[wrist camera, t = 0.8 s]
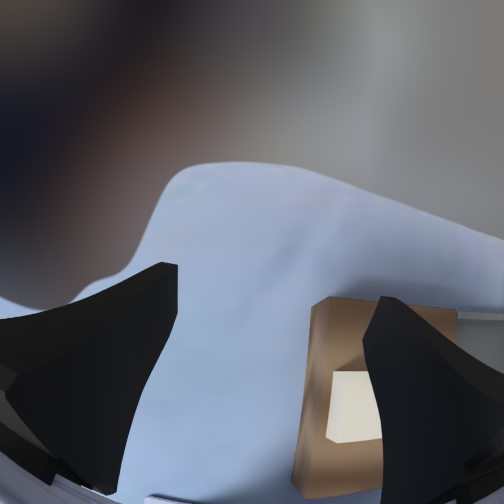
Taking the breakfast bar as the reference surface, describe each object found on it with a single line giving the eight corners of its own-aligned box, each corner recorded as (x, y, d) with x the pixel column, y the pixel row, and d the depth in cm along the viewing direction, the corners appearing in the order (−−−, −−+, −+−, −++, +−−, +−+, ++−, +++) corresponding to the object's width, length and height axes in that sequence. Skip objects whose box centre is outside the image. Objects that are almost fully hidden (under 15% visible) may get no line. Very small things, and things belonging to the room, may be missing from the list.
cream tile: (383, 431, 17) (398, 435, 15) (325, 436, 16) (337, 443, 14) (389, 371, 18) (405, 370, 17) (333, 371, 18) (345, 371, 16)
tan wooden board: (417, 461, 19) (441, 468, 15) (291, 481, 18) (305, 499, 14) (430, 317, 25) (455, 309, 21) (311, 307, 24) (329, 296, 20)
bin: (501, 427, 20) (519, 427, 17) (418, 461, 19) (439, 467, 16) (507, 320, 26) (524, 314, 23) (430, 317, 25) (452, 310, 22)
